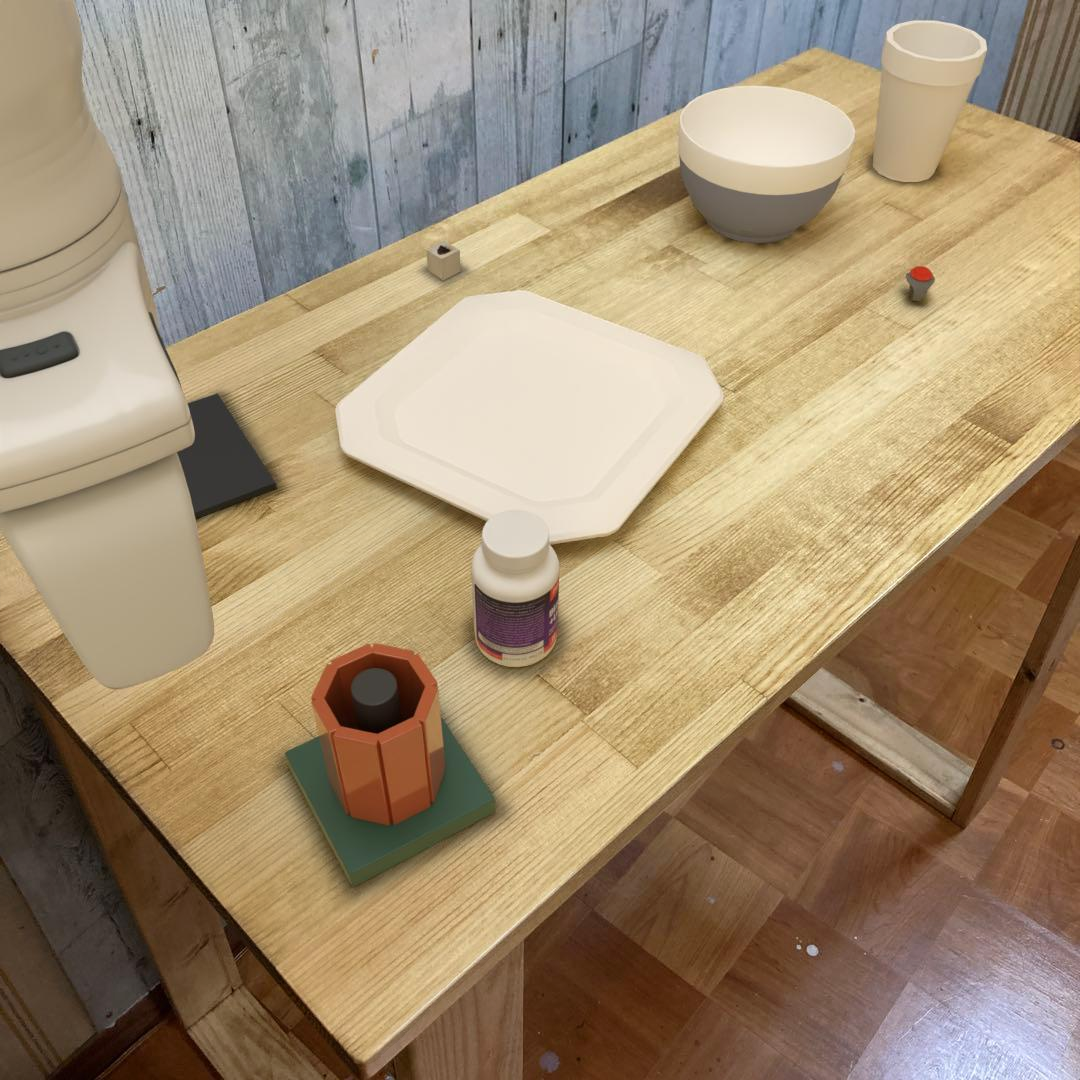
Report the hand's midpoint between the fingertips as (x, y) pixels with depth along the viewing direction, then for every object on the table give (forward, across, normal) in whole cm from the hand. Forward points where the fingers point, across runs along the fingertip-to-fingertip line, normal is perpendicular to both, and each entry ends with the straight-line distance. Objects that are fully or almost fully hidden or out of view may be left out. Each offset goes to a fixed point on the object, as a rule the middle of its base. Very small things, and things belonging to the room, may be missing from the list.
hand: (111, 582), depth 45 cm
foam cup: (+23, -39, +88) cm, 99 cm away
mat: (+24, -33, +8) cm, 41 cm away
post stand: (+24, 0, +10) cm, 26 cm away
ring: (+23, -21, +72) cm, 79 cm away
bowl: (+23, -39, +68) cm, 82 cm away
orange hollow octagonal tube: (+22, 0, +10) cm, 24 cm away
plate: (+24, -24, +34) cm, 48 cm away
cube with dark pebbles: (+24, -46, +38) cm, 64 cm away
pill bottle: (+24, -6, +22) cm, 33 cm away
